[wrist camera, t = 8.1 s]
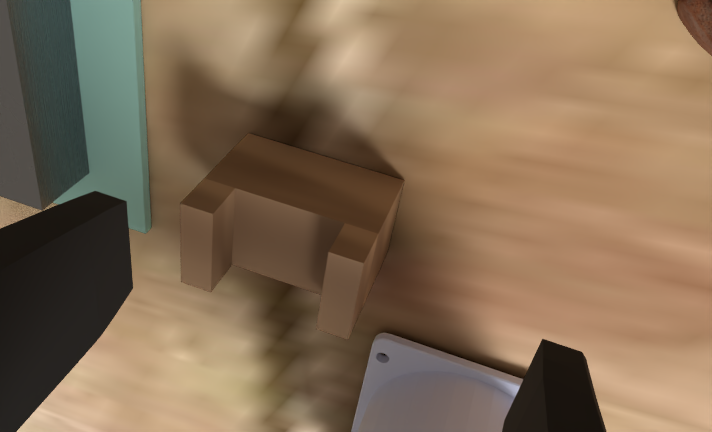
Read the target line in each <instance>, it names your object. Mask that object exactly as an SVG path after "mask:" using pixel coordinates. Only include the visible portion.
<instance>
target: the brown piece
mask: <svg viewBox="0 0 712 432" xmlns="http://www.w3.org/2000/svg"><path fill="white" fill-rule="evenodd" d="M677 11H678V15H679V18H680V20H681V21H682V22H683V24H684V25H685V27H686V28H687V30H688V31H689V33H690V34H691V35H692V37H693V38H694V39H695V40H696V41H697V42H698V44H699V45H700V46H701V47H703V48H704V49H705V50H706V51H707V52H708V53H709V54H710V55H711V56H712V1H711V0H679V1H678V8H677Z"/></svg>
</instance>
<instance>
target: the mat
mask: <svg viewBox="0 0 712 432" xmlns="http://www.w3.org/2000/svg"><path fill="white" fill-rule="evenodd" d="M70 3H71V12H72V21H73V30H74V39H75V48H76V57H77V66H78V75H79V83H80V92H81V101H82V110H83V119H84V128H85V137H86V146H87V155H88V164H89V174H88V175H86V176H85V177H84V178H82V179H81V180H80V181H79V182H77V183H76V184H75V185H74V186H72V187H71V188H70V189H69V190H67V191H66V192H65V193H64V194H62V195H61V196H60V197H59V198H57V199H56V200H55V201H54V202H53V203H56V204H62V203H64V202H67V201H69V200H72V199H74V198H77V197H79V196H82V195H85V194H88V193H90V192H93V191H98V192H101V193H104V194H107V195H110V196H113V197H116V198H119V199H122V200H125V201H127V214H128V227H129V228H130V229H133V230H136V231H139V232H142V233H145V234H146V233H147V232H148V231H149V230H150V229H151V211H150V190H149V169H148V148H147V127H146V105H145V84H144V63H143V42H142V21H141V0H70Z"/></svg>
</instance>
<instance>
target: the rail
mask: <svg viewBox="0 0 712 432" xmlns="http://www.w3.org/2000/svg"><path fill="white" fill-rule="evenodd" d="M88 174H89V164H88V155H87V146H86V137H85V128H84V119H83V110H82V101H81V92H80V83H79V75H78V66H77V57H76V48H75V39H74V30H73V21H72V12H71V3H70V0H0V196H1V197H4V198H7V199H10V200H13V201H16V202H19V203H22V204H25V205H28V206H31V207H34V208H36V209H39V210H43V209H45V208H46V207H47V206H49V205H50V204H51V203H52V202H54V201H55V200H56V199H57V198H59V197H60V196H61V195H62V194H64V193H65V192H66V191H67V190H69V189H70V188H71V187H72V186H74V185H75V184H76V183H77V182H79V181H80V180H81V179H82V178H84V177H85V176H86V175H88Z"/></svg>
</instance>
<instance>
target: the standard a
mask: <svg viewBox="0 0 712 432" xmlns="http://www.w3.org/2000/svg"><path fill="white" fill-rule="evenodd" d="M403 185H404V180H401V179H398V178H395V177H391V176H388V175H385V174H382V173H378V172H375V171H372V170H368V169H365V168H362V167H358V166H355V165H352V164H349V163H345V162H342V161H339V160H335V159H332V158H329V157H325V156H322V155H319V154H316V153H312V152H309V151H306V150H302V149H299V148H296V147H293V146H289V145H286V144H283V143H279V142H276V141H273V140H269V139H266V138H263V137H260V136H256V135H253V134H250V133H248V134H247V135H246V136H245V137H244V138H243V139H242V140H241V141H240V142H239V143H238V144H237V145H236V146H235V147H234V148H233V149H232V150H231V151H230V152H229V153H228V154H227V155H226V157H225V158H224V159H223V160H222V161H221V162H220V163H219V164H218V165H217V166H216V167H215V168H214V169H213V170H212V171H211V172H210V173H209V174H208V175H207V176H206V177H205V178H204V179H203V180H202V181H201V182H200V183H199V184H198V185H197V186H196V187H195V189H194V190H193V191H192V192H191V193H190V194H189V195H188V196H187V197H186V198H185V199H184V200H183V201H182V202H181V203H180V233H181V282H183V283H185V284H188V285H191V286H194V287H197V288H200V289H203V290H206V291H208V292H212V290H213V289H214V288H215V286H216V285H217V284H218V282H219V281H220V280H221V278H222V277H223V276H224V274H225V273H226V272H227V270H228V269H229V268H230V266H231V265H234V266H237V267H240V268H243V269H246V270H249V271H252V272H255V273H258V274H261V275H264V276H267V277H270V278H273V279H276V280H279V281H282V282H285V283H288V284H290V285H293V286H296V287H299V288H302V289H305V290H308V291H311V292H314V293H317V294H320V295H321V301H320V307H319V313H318V319H317V325H316V329H318V330H321V331H323V332H326V333H329V334H332V335H335V336H338V337H341V338H344V339H346V340H348V339H349V336H350V334H351V332H352V330H353V328H354V325H355V323H356V321H357V319H358V316H359V314H360V312H361V310H362V308H363V305H364V303H365V301H366V299H367V297H368V294H369V292H370V290H371V288H372V286H373V283H374V281H375V279H376V277H377V274H378V272H379V270H380V268H381V266H382V263H383V261H384V259H385V257H386V255H387V252H388V248H389V244H390V240H391V236H392V231H393V227H394V223H395V219H396V214H397V210H398V206H399V202H400V197H401V193H402V189H403Z"/></svg>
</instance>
